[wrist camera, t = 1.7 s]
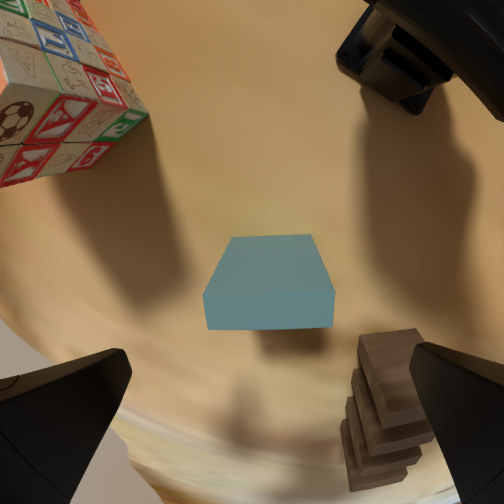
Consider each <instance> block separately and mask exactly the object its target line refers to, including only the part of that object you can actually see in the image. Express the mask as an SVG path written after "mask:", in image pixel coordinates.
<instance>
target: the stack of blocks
mask: <svg viewBox="0 0 504 504" xmlns="http://www.w3.org/2000/svg"><path fill="white" fill-rule="evenodd" d="M148 115H149V112H148V111H147V109H146V107H145V106H144V104H143V103H142V101H141V99H140V98H139V96H138V95H137V93H136V91H135V90H134V88H133V86H132V85H131V82H130V79H129V78H128V76H127V75H126V73H125V71H124V70H123V68H122V66H121V65H120V63H119V62H118V60H117V58H116V57H115V56H114V54H113V52H112V50H111V48H110V47H109V45H108V44H107V42H106V40H105V39H104V37H103V35H102V34H101V33H99V32H98V30H97V29H96V27H95V26H94V24H93V22H92V21H91V19H90V17H89V16H88V15H87V14H86V12H85V10H84V9H83V7H82V5H81V4H80V2H79V1H78V0H0V188H2V187H7V186H10V185H15V184H18V183H24V182H26V181H31V180H33V179H34V178H40V177H44V176H48V175H53V174H58V173H63V172H72V171H77V170H85V169H89V168H90V167H91V166H92V165H93V164H94V163H95V162H96V161H97V160H98V159H100V158H101V157H102V156H103V155H104V154H105V153H106V152H107V151H108V150H109V149H110V148H111V147H112V146H113V145H114V144H115V143H116V142H117V141H118V140H119V139H120V138H121V137H122V136H124V135H125V134H126V133H127V132H128V131H129V130H131V129H132V128H133V127H134V126H135V125H137V124H138V123H139V122H140V121H142V120H143V119H144V118H145V117H147V116H148Z"/></svg>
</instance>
